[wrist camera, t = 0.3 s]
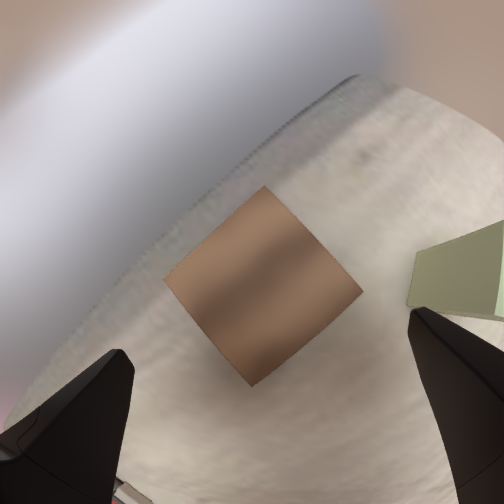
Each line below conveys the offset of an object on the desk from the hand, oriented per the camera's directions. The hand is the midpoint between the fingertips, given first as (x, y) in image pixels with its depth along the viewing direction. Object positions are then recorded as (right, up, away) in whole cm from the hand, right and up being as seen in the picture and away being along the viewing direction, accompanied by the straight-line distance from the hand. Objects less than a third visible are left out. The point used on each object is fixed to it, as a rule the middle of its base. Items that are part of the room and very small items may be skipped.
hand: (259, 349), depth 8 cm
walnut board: (+1, 0, +15) cm, 15 cm away
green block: (+15, 0, +12) cm, 20 cm away
